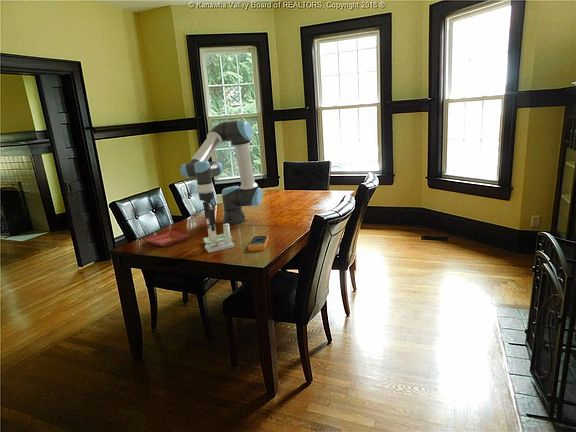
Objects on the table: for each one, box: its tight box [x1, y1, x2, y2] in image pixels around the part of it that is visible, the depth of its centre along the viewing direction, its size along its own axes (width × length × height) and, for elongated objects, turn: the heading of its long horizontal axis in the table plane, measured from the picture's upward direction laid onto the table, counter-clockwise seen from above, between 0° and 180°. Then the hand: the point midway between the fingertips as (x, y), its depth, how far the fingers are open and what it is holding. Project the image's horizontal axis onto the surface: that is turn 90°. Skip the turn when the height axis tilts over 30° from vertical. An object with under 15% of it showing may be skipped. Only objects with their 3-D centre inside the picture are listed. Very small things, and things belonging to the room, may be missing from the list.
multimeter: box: [247, 234, 270, 252], centre depth 198 cm, size 9×18×3 cm, turn 176°
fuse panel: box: [204, 241, 235, 254], centre depth 200 cm, size 14×8×2 cm, turn 116°
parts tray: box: [202, 233, 234, 246], centre depth 209 cm, size 14×10×2 cm
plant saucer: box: [145, 230, 189, 248], centre depth 219 cm, size 18×18×3 cm
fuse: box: [222, 223, 232, 244], centre depth 200 cm, size 3×3×12 cm
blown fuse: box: [205, 218, 218, 242], centre depth 196 cm, size 4×4×12 cm
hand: (212, 235), depth 197 cm, fingers closed on blown fuse, 4 cm apart
